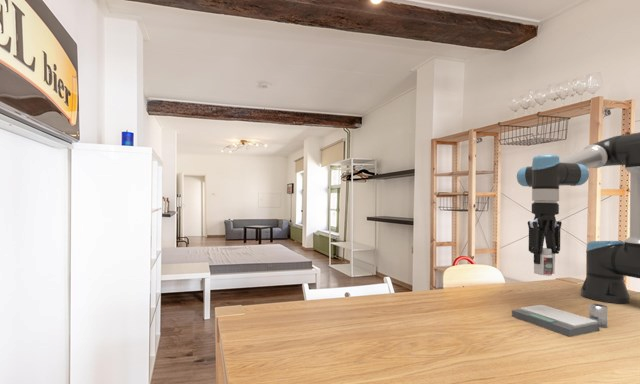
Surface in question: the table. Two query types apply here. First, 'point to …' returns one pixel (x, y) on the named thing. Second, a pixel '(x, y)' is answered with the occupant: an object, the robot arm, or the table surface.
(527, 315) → the kitchen scale
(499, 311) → the table surface
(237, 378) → the table surface
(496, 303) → the table surface
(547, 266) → the pill bottle
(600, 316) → the cylinder
